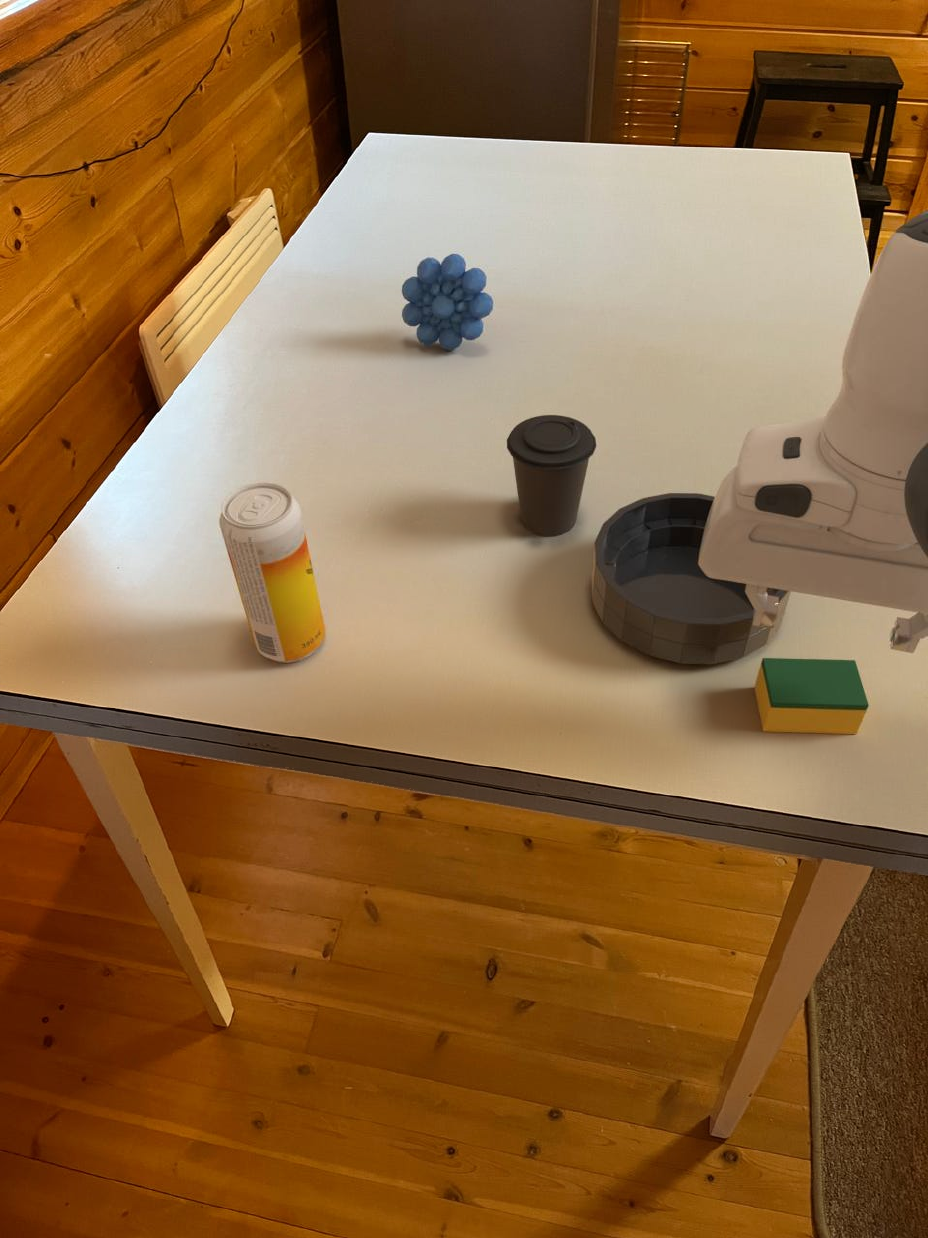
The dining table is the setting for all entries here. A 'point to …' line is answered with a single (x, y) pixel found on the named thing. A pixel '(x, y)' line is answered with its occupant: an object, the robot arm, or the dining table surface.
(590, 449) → the coffee cup
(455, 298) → the blue knobbed flower
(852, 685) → the sponge
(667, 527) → the bowl
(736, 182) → the dining table surface
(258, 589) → the beer can
